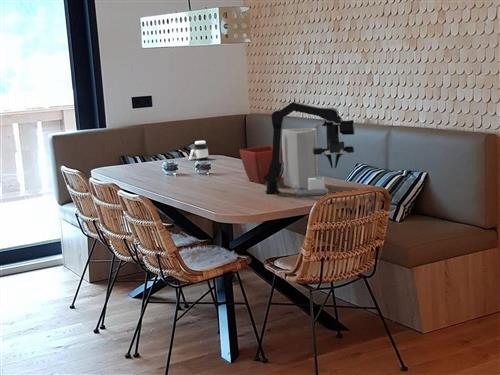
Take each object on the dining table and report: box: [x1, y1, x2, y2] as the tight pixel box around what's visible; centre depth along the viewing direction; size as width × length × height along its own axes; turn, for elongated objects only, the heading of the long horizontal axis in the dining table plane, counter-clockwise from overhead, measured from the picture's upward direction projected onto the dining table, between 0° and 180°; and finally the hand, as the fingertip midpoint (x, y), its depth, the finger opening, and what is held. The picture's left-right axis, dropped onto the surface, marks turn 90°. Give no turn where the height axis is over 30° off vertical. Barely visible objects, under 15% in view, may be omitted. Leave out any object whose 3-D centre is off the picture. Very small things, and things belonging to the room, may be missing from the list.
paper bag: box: [281, 128, 320, 189], centre depth 384 cm, size 19×15×28 cm
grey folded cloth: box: [294, 185, 329, 197], centre depth 366 cm, size 10×15×4 cm, turn 92°
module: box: [308, 176, 325, 190], centre depth 365 cm, size 5×7×7 cm
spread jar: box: [188, 140, 209, 161], centre depth 493 cm, size 12×11×12 cm
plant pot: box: [239, 145, 283, 184], centre depth 405 cm, size 19×19×17 cm
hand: (333, 168), depth 364 cm, fingers closed
